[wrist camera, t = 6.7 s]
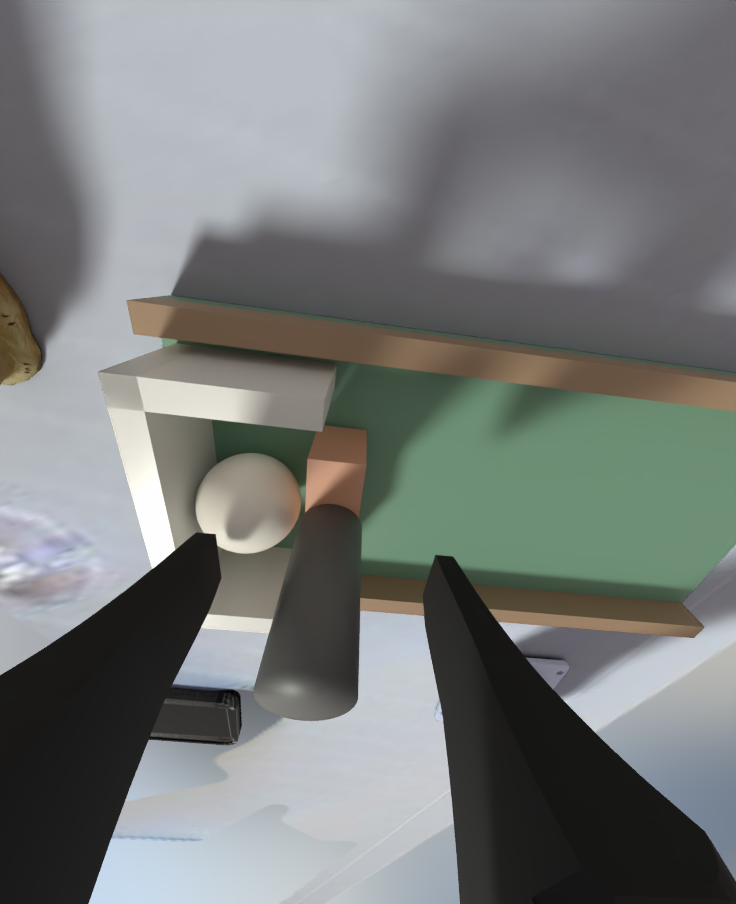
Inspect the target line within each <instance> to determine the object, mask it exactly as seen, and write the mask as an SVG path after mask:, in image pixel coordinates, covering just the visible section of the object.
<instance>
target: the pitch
mask: <svg viewBox="0 0 736 904" xmlns="http://www.w3.org/2000/svg"><path fill="white" fill-rule="evenodd" d="M127 305H128V310H129V314H130V319H131V324H132V328H133V333H134V334H137V335H145V336H152V337H160V338H162V343H163V348H164V347H167V346H170V345H173V344H175V343H178V344H186V345H194V346H202V347H210V348H217V349H225V350H233V351H241V352H249V353H256V354H264V355H272V356H280V357H288V358H295V359H303V360H311V361H319V362H327V363H335V364H337V366H336V378H335V389H334V393H333V396H332V400H331V403H330V407H329V410H328V413H327V417H326V420H325V424H324V425H327V426H335V427H344V428H353V429H361V430H367V455H366V471H365V478H364V485H363V492H362V499H361V505H360V512H359V519H360V522H361V525H362V552H361V592H360V610H361V611H373V612H385V613H397V614H410V615H422V616H424V607H423V592H424V589H425V586H426V583H427V580H428V576H429V573H430V570H431V567H432V564H433V561H434V558H435V555H442V556H453V557H454V558H455V560H456V561H457V563H458V564H459V566H460V567H461V569H462V570H463V572H464V573H465V575H466V576H467V578H468V580H469V581H470V583H471V584H472V586H473V587H474V589H475V590H476V592H477V593H478V595H479V596H480V598H481V599H482V600H483V602H484V603H485V605H486V606H487V608H488V609H489V610H490V612H491V613H492V615H493V616H494V617H495V619H496V620H497V622H507V623H519V624H531V625H543V626H555V627H568V628H580V629H592V630H604V631H616V632H628V633H640V634H653V635H665V636H677V637H689V638H694V637H695V636H696V635H697V634H698V633H699V632H700V631H701V630H702V629H703V628H704V626H703V625H702V624H701V623H700V622H699V621H698V620H697V619H696V617H695V616H694V615H693V614H692V613H691V612H690V611H689V610H688V609H687V608H686V607H685V606H684V605H683V604H682V602H683V601H684V600H685V599H686V598H687V597H688V596H689V595H690V594H691V593H692V591H693V590H694V589H695V588H696V587H697V586H698V585H699V584H700V583H701V582H702V581H703V580H704V578H705V577H706V576H707V575H708V574H709V573H710V572H711V571H712V570H713V569H714V568H715V566H716V565H717V564H718V563H719V562H720V561H721V560H722V559H723V558H724V557H725V556H726V555H727V553H728V552H729V551H730V550H731V549H732V548H733V547H734V546H735V545H736V373H734V372H727V371H720V370H712V369H705V368H698V367H690V366H683V365H676V364H668V363H661V362H654V361H646V360H639V359H632V358H624V357H617V356H610V355H602V354H595V353H588V352H581V351H573V350H566V349H559V348H551V347H544V346H537V345H529V344H522V343H515V342H507V341H500V340H493V339H485V338H478V337H471V336H463V335H456V334H449V333H441V332H434V331H427V330H419V329H412V328H405V327H397V326H390V325H383V324H376V323H368V322H361V321H354V320H346V319H339V318H332V317H324V316H317V315H310V314H302V313H295V312H288V311H280V310H273V309H266V308H258V307H251V306H244V305H236V304H229V303H222V302H214V301H207V300H200V299H192V298H185V297H178V296H170V295H169V296H161V297H152V298H143V299H134V300H127ZM212 425H213V434H214V442H215V451H216V460H217V464H218V463H219V462H221V461H223V460H224V459H227V458H229V457H231V456H234V455H238V454H243V453H259V454H264V455H268V456H270V457H273V458H275V459H277V460H278V461H280V462H282V463H283V464H284V465H285V466H286V467H287V468H288V469H289V470H290V471H291V472H292V474H293V475H294V477H295V478H296V480H297V483H298V485H299V488H300V493H301V509H300V513H299V517H298V519H297V521H296V523H295V525H294V527H293V529H292V530H291V531H290V533H289V534H288V535H287V536H286V537H285V538H284V539H283V540H282V541H280V542H279V543H278V544H276V545H274V546H273V547H280V548H291V549H292V548H293V545H294V541H295V538H296V534H297V530H298V527H299V523H300V520H301V518H302V516H303V515H304V513H305V503H306V479H307V458H308V455H309V452H310V449H311V446H312V443H313V440H314V437H315V434H316V431H310V430H301V429H292V428H284V427H275V426H266V425H258V424H249V423H240V422H231V421H223V420H214V419H212Z"/></svg>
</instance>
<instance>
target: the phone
mask: <svg viewBox="0 0 736 904" xmlns="http://www.w3.org/2000/svg"><path fill="white" fill-rule="evenodd" d="M241 719H242V717H241V696H240V694H239V692H237V691H235V690H234V689H225V690H218V691H203V690H192V689H180V688H170V690H169V692H168V694H167V697H166V699H165V701H164V703H163V705H162V708H161V710H160V713H159V715H158V718H157V720H156V723H155V725H154V727H153V730H152V732H151V735H150V737H149V740H162V741H175V742H176V741H177V742H189V743H203V744H216V745H233V744H236V743H237V741H238V738H239V734H240V730H241V727H242V720H241Z"/></svg>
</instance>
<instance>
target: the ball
mask: <svg viewBox="0 0 736 904" xmlns="http://www.w3.org/2000/svg"><path fill="white" fill-rule="evenodd" d="M300 509H301V493H300V488H299V485H298V483H297V480H296V478H295V477H294V475H293V474H292V472H291V471H290V470H289V469H288V468H287V467H286V466H285V465H284V464H283V463H282V462H280V461H278V460H277V459H275V458H273V457H270V456H268V455H264V454H259V453H243V454H238V455H234V456H231V457H229V458H227V459H224V460H223V461H221V462H219V463H218V464H217V465H215V466H214V467H213V468H212V469H211V470H210V471H209V472H208V473H207V474H206V476H205V477H204V479H203V480H202V482H201V484H200V486H199V488H198V492H197V495H196V501H195V511H196V516H197V520H198V523H199V525H200V527H201V529H202V531H203V532H204V533H209V534H216V540H217V546H219V547H221V548H223V549H225V550H227V551H231V552H235V553H242V554H247V553H256V552H261V551H264V550H266V549H269V548H271V547H273V546H274V545H276V544H278V543H279V542H280V541H282V540H283V539H284V538H285V537H286V536H287V535H288V534H289V533H290V531H291V530H292V529H293V527H294V525H295V523H296V521H297V519H298V517H299V513H300Z"/></svg>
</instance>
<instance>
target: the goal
mask: <svg viewBox="0 0 736 904" xmlns="http://www.w3.org/2000/svg"><path fill="white" fill-rule="evenodd" d="M336 366H337V364H335V363H327V362H319V361H311V360H303V359H295V358H288V357H280V356H272V355H264V354H256V353H249V352H241V351H233V350H225V349H217V348H210V347H202V346H194V345H186V344H178V343H175V344H173V345H170V346H167V347H164V348H162V349H159V350H156V351H153V352H151V353H148V354H145V355H142V356H140V357H137V358H134V359H132V360H129V361H126V362H123V363H121V364H118V365H115V366H112V367H110V368H107V369H104V370H101V371H99V372H98V376H99V379H100V383H101V386H102V390H103V393H104V397H105V401H106V404H107V408H108V411H109V415H110V419H111V422H112V426H113V429H114V433H115V436H116V440H117V444H118V447H119V451H120V454H121V458H122V462H123V465H124V469H125V472H126V476H127V480H128V483H129V487H130V490H131V494H132V497H133V501H134V505H135V508H136V512H137V515H138V519H139V523H140V526H141V530H142V533H143V537H144V541H145V544H146V548H147V551H148V555H149V558H150V562H151V566H152V569H153V568H154V567H155V566H157V565H158V564H159V563H160V562H161V561H163V560H164V559H165V558H166V557H167V556H169V555H170V554H171V553H172V552H173V551H174V550H176V549H177V548H178V547H179V546H180V545H182V544H183V543H184V542H185V541H186V540H187V539H189V538H190V537H191V536H192V535H194V534H195V533H196V532H198V533H204V532H203V531H202V529H201V527H200V525H199V523H198V520H197V516H196V511H195V501H196V495H197V492H198V488H199V486H200V484H201V482H202V480H203V479H204V477H205V476H206V474H207V473H208V472H209V471H210V470H211V469H212V468H213V467H214V466H215V465H217V460H216V451H215V442H214V434H213V425H212V419H214V420H223V421H231V422H240V423H249V424H258V425H266V426H275V427H284V428H292V429H301V430H310V431H318V432H322V431H323V427H324V424H325V420H326V417H327V413H328V410H329V407H330V403H331V400H332V396H333V393H334V389H335V378H336ZM217 547H218V555H219V562H220V570H221V577H222V578H221V581H220V584H219V586H218V589H217V592H216V595H215V597H214V600H213V603H212V605H211V608H210V610H209V612H208V614H207V616H206V618H205V620H204V622H203V624H202V626H201V628H207V629H220V630H233V631H246V632H259V633H269V632H270V628H271V625H272V621H273V617H274V614H275V610H276V606H277V603H278V599H279V596H280V592H281V588H282V585H283V581H284V577H285V574H286V570H287V567H288V563H289V559H290V556H291V552H292V549H291V548H280V547H271V548H269V549H266V550H264V551H261V552H256V553H247V554H242V553H235V552H231V551H227V550H225V549H223V548H221V547H219V546H217Z"/></svg>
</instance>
